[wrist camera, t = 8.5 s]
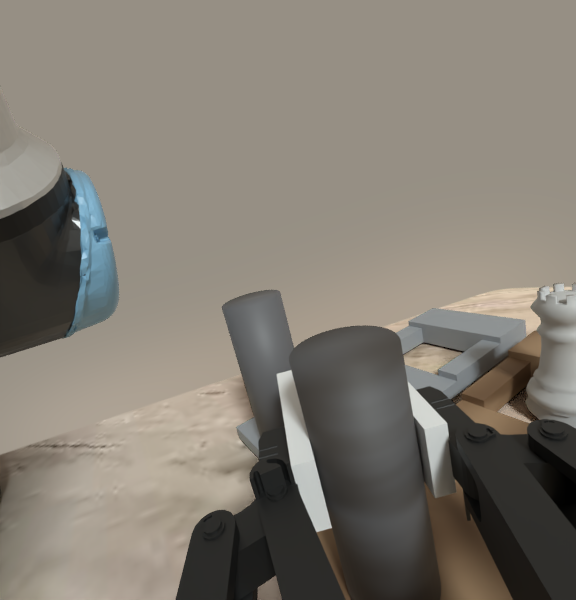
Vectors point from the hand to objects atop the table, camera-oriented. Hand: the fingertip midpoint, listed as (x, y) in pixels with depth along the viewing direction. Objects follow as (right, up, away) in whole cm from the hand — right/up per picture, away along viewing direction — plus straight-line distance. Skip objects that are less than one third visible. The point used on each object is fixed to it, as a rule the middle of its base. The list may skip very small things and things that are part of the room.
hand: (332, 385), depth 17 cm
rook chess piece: (+15, -3, +4) cm, 16 cm away
